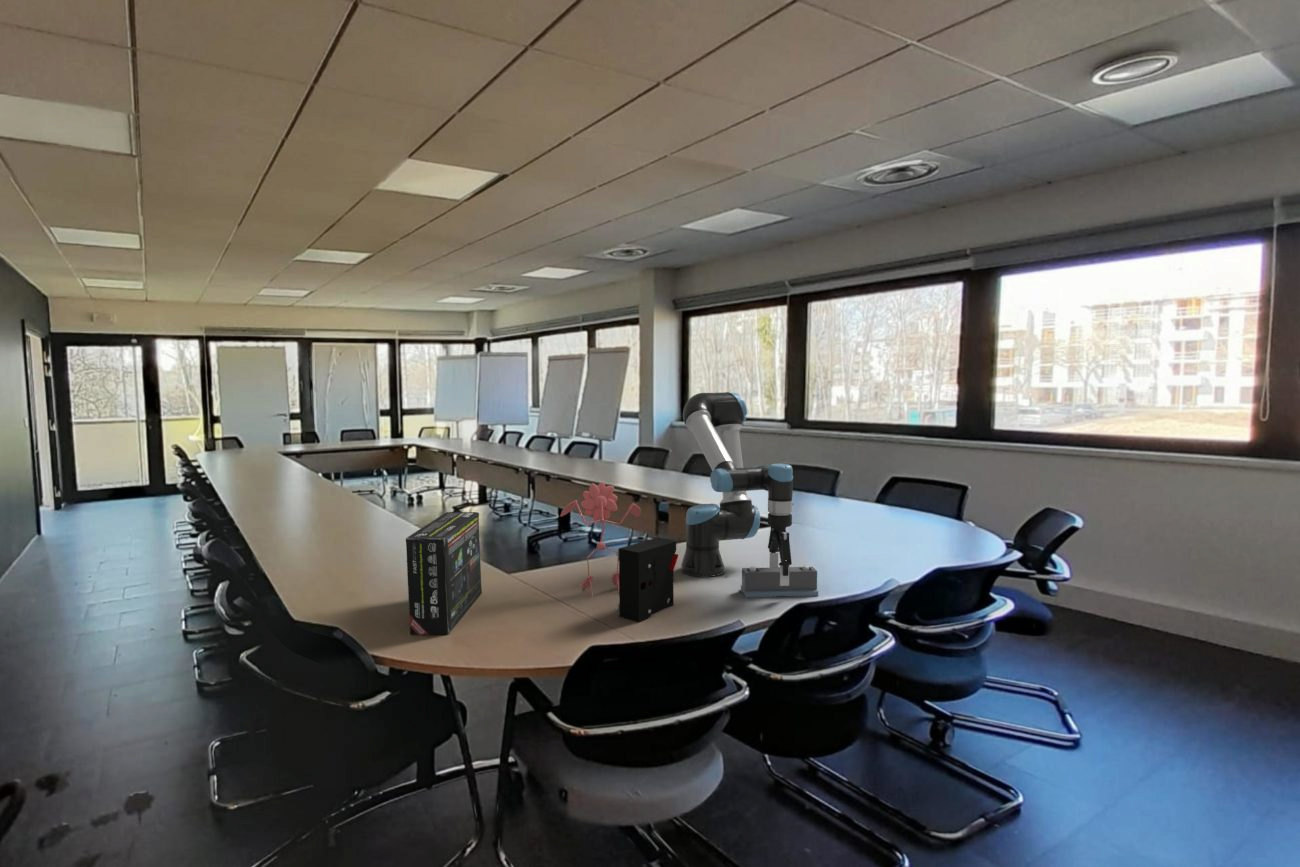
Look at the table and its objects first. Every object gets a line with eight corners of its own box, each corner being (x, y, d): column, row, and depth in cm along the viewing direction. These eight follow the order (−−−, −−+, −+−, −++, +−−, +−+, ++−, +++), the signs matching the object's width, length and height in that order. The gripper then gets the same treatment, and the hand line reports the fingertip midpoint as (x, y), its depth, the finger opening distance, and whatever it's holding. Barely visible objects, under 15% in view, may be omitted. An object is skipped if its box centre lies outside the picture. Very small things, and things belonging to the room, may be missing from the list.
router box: (448, 593, 215) (445, 511, 213) (482, 593, 215) (480, 511, 213) (406, 636, 179) (403, 537, 177) (448, 636, 179) (445, 537, 177)
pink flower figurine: (645, 590, 217) (644, 482, 215) (567, 600, 208) (564, 487, 206) (630, 578, 231) (628, 477, 229) (556, 587, 222) (554, 481, 220)
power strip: (744, 591, 212) (745, 572, 211) (741, 586, 217) (742, 568, 216) (816, 589, 213) (817, 571, 212) (812, 584, 218) (812, 566, 217)
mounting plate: (745, 597, 210) (746, 570, 209) (740, 589, 218) (741, 563, 217) (818, 595, 211) (818, 568, 211) (810, 588, 219) (811, 561, 219)
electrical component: (652, 599, 208) (652, 536, 207) (678, 606, 202) (678, 541, 200) (613, 615, 195) (613, 547, 193) (640, 623, 188) (640, 553, 187)
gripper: (802, 521, 201) (801, 590, 202) (781, 505, 225) (780, 567, 227) (778, 521, 200) (776, 591, 202) (759, 505, 225) (758, 567, 227)
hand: (778, 578), depth 215 cm, fingers open, 13 cm apart
